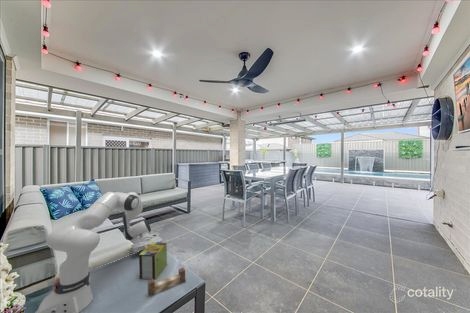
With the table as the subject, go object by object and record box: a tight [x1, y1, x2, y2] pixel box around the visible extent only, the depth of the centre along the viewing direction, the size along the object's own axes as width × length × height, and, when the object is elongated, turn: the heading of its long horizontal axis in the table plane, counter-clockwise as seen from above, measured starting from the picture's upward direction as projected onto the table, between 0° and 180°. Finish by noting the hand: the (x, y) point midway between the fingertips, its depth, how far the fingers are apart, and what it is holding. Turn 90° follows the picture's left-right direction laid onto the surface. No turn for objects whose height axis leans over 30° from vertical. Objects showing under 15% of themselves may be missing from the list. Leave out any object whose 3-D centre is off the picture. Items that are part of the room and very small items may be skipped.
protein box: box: [138, 242, 168, 281], centre depth 117 cm, size 10×15×16 cm
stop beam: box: [147, 267, 186, 297], centre depth 104 cm, size 20×4×7 cm, turn 124°
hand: (149, 249), depth 131 cm, fingers closed
